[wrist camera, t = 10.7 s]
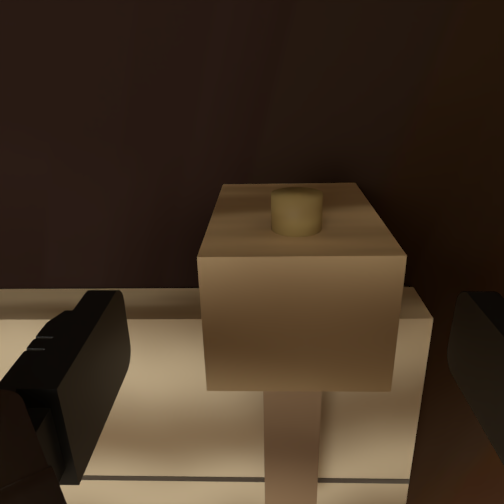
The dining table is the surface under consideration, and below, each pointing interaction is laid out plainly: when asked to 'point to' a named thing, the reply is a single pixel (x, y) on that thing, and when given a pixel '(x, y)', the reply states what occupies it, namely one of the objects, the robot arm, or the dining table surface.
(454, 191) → the dining table surface
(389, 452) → the board
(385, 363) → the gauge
